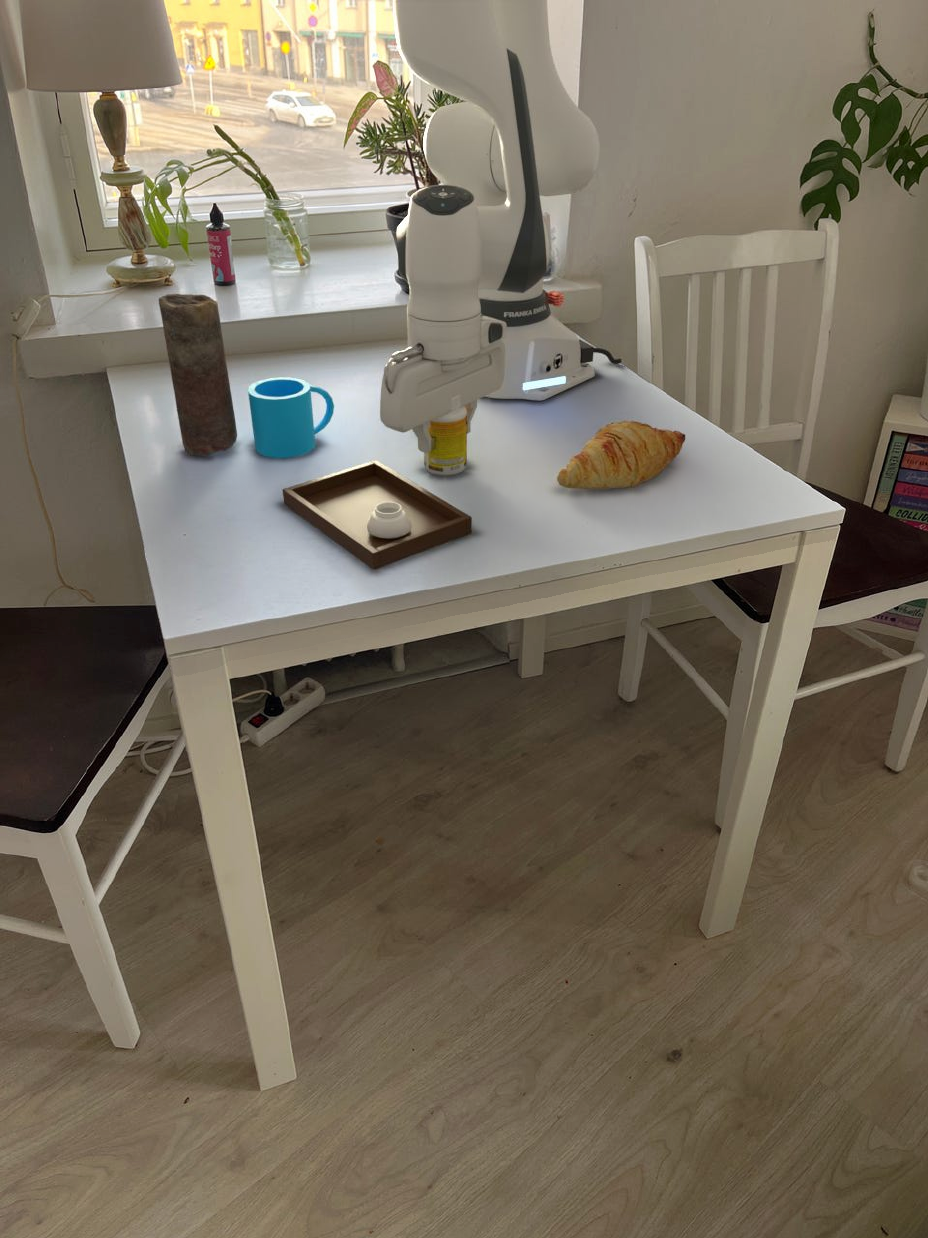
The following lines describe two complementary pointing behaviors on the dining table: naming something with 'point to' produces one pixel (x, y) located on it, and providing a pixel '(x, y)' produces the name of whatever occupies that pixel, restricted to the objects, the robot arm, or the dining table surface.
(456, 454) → the supplement bottle
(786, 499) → the dining table surface
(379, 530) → the lidless jar
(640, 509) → the dining table surface
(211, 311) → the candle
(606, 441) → the croissant
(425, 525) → the serving tray
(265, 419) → the mug
